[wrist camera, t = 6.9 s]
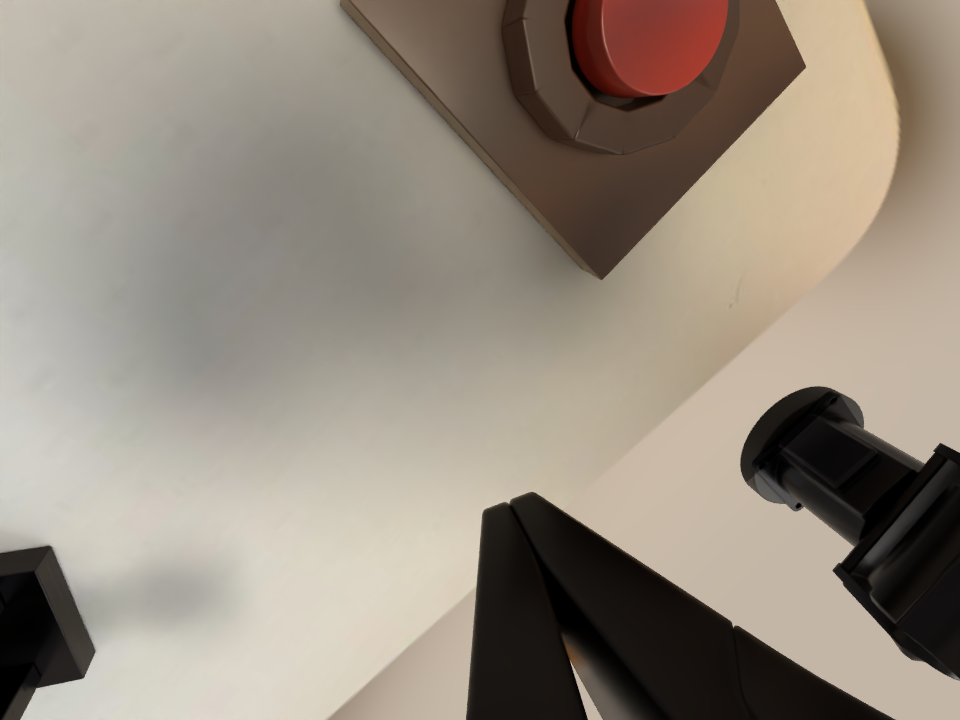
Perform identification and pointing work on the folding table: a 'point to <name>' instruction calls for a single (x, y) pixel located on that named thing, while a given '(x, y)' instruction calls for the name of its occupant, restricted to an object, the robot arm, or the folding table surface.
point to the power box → (579, 109)
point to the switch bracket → (37, 629)
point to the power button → (645, 43)
